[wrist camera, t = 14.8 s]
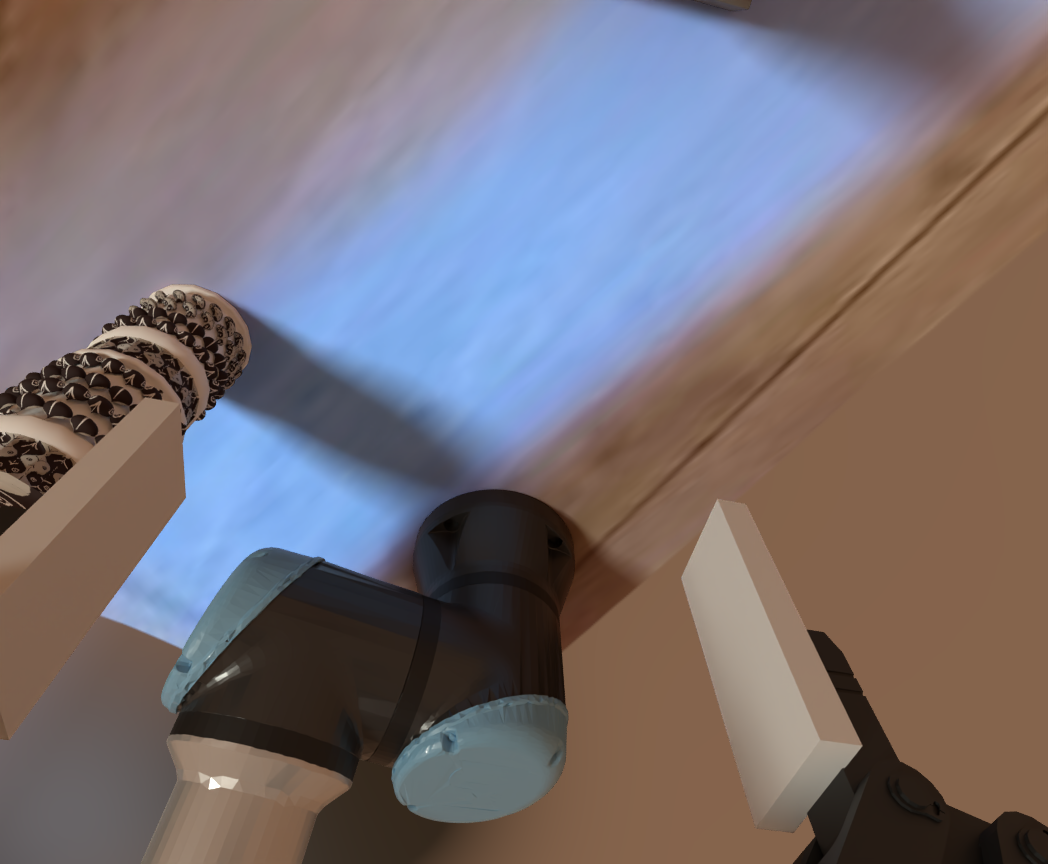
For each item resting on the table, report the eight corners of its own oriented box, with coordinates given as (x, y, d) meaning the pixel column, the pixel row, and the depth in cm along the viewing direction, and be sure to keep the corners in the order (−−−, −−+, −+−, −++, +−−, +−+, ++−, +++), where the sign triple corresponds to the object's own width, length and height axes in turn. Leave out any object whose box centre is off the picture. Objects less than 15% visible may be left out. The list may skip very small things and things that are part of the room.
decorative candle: (128, 266, 48) (-185, 452, 27) (256, 292, 49) (53, 490, 28) (139, 375, 53) (-120, 608, 32) (256, 396, 54) (82, 635, 33)
